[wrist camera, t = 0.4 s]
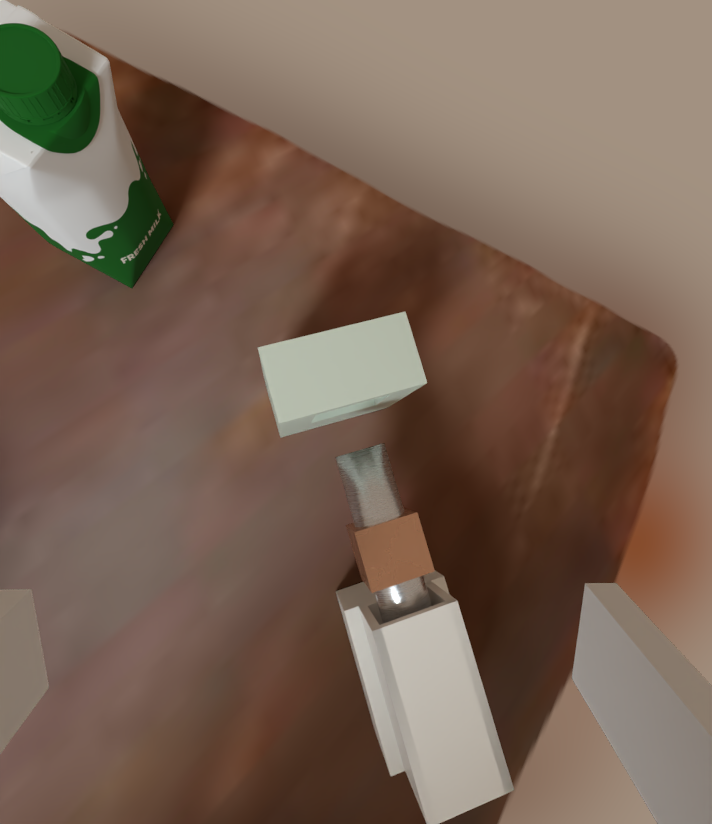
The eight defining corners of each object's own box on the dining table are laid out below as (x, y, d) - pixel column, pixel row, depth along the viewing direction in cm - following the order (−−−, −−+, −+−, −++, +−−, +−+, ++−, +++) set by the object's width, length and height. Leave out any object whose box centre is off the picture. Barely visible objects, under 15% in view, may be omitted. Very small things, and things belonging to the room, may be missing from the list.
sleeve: (462, 697, 42) (529, 783, 31) (375, 732, 41) (411, 835, 29) (422, 561, 43) (472, 594, 32) (335, 591, 42) (355, 637, 30)
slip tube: (456, 693, 36) (480, 724, 31) (400, 716, 35) (416, 750, 31) (382, 443, 37) (395, 439, 33) (327, 459, 36) (333, 458, 32)
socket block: (387, 407, 45) (427, 382, 32) (280, 437, 43) (279, 423, 30) (372, 355, 45) (405, 311, 33) (265, 383, 43) (257, 347, 31)
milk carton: (136, 302, 42) (8, 156, 23) (40, 250, 42) (-177, 54, 22) (188, 221, 44) (111, 19, 24) (97, 170, 43) (-59, -81, 24)
